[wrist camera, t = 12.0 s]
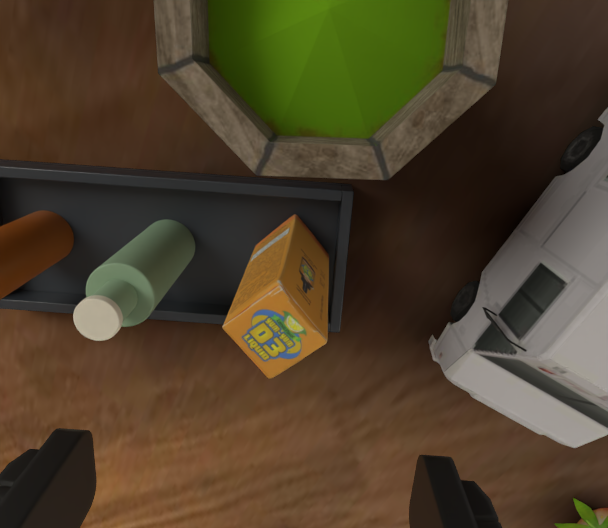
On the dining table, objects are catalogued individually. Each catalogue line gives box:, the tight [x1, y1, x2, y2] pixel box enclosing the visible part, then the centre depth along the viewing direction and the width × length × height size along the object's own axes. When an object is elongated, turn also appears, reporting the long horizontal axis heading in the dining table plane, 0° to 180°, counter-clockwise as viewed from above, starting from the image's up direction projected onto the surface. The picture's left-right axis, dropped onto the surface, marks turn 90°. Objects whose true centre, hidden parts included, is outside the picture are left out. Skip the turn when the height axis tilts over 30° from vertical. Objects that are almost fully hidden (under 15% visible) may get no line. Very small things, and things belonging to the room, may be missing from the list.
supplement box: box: [222, 214, 329, 379], centre depth 24 cm, size 3×3×10 cm
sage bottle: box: [73, 219, 195, 341], centre depth 24 cm, size 3×3×10 cm
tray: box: [0, 159, 354, 333], centre depth 28 cm, size 20×8×2 cm, turn 86°
